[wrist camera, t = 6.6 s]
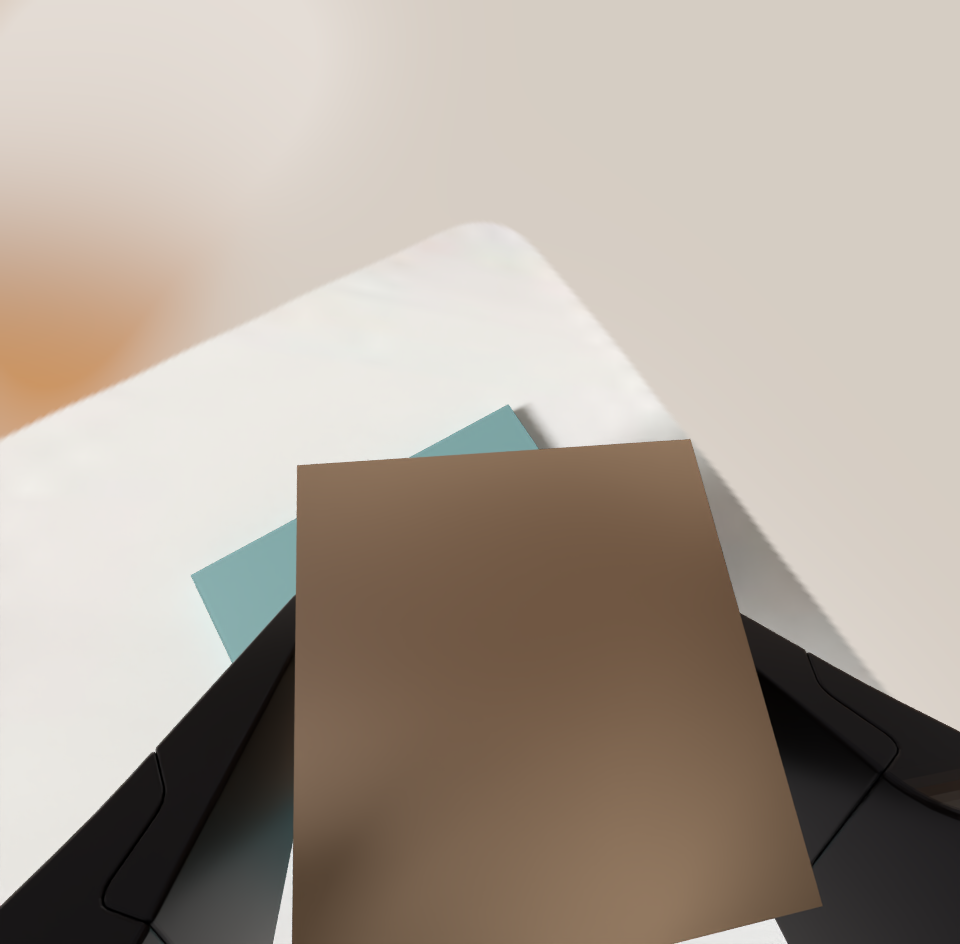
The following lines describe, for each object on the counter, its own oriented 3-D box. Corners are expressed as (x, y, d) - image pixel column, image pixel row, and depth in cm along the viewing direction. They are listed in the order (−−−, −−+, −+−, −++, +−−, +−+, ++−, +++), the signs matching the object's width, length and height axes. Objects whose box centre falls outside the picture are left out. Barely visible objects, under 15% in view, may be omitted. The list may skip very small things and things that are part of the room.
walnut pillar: (531, 700, 16) (823, 907, 4) (391, 721, 15) (291, 1041, 4) (512, 561, 18) (690, 438, 6) (384, 574, 17) (296, 465, 5)
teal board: (691, 690, 18) (706, 694, 17) (383, 952, 14) (380, 976, 13) (504, 413, 21) (508, 404, 20) (203, 577, 17) (191, 575, 16)
